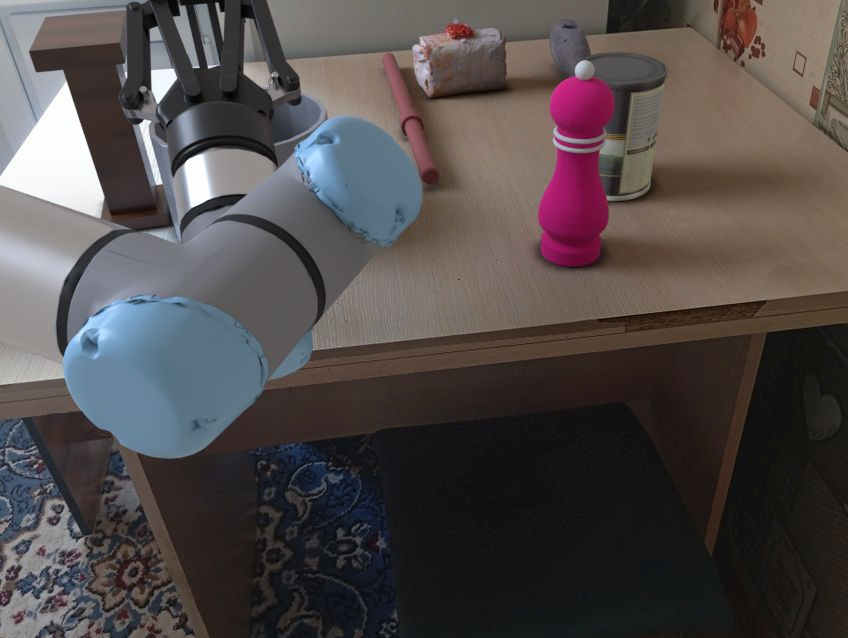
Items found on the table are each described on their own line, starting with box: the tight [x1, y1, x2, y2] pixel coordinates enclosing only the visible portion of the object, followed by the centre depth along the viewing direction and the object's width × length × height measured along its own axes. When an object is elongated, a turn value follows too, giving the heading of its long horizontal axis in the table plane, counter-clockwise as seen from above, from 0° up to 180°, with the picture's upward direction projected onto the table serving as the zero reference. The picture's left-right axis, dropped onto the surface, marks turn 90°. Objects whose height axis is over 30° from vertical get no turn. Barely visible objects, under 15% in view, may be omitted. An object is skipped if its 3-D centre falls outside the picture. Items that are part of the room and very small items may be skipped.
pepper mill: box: [537, 60, 614, 268], centre depth 77 cm, size 7×7×20 cm
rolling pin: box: [381, 52, 441, 186], centre depth 112 cm, size 45×3×3 cm, turn 11°
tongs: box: [178, 0, 224, 69], centre depth 70 cm, size 16×3×3 cm
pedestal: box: [28, 9, 170, 231], centre depth 84 cm, size 12×8×21 cm, turn 16°
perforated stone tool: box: [548, 18, 592, 79], centre depth 125 cm, size 15×5×7 cm, turn 6°
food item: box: [411, 18, 508, 98], centre depth 120 cm, size 14×8×10 cm, turn 106°
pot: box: [148, 86, 329, 242], centre depth 86 cm, size 18×18×12 cm
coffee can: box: [574, 51, 669, 202], centre depth 92 cm, size 10×10×14 cm
